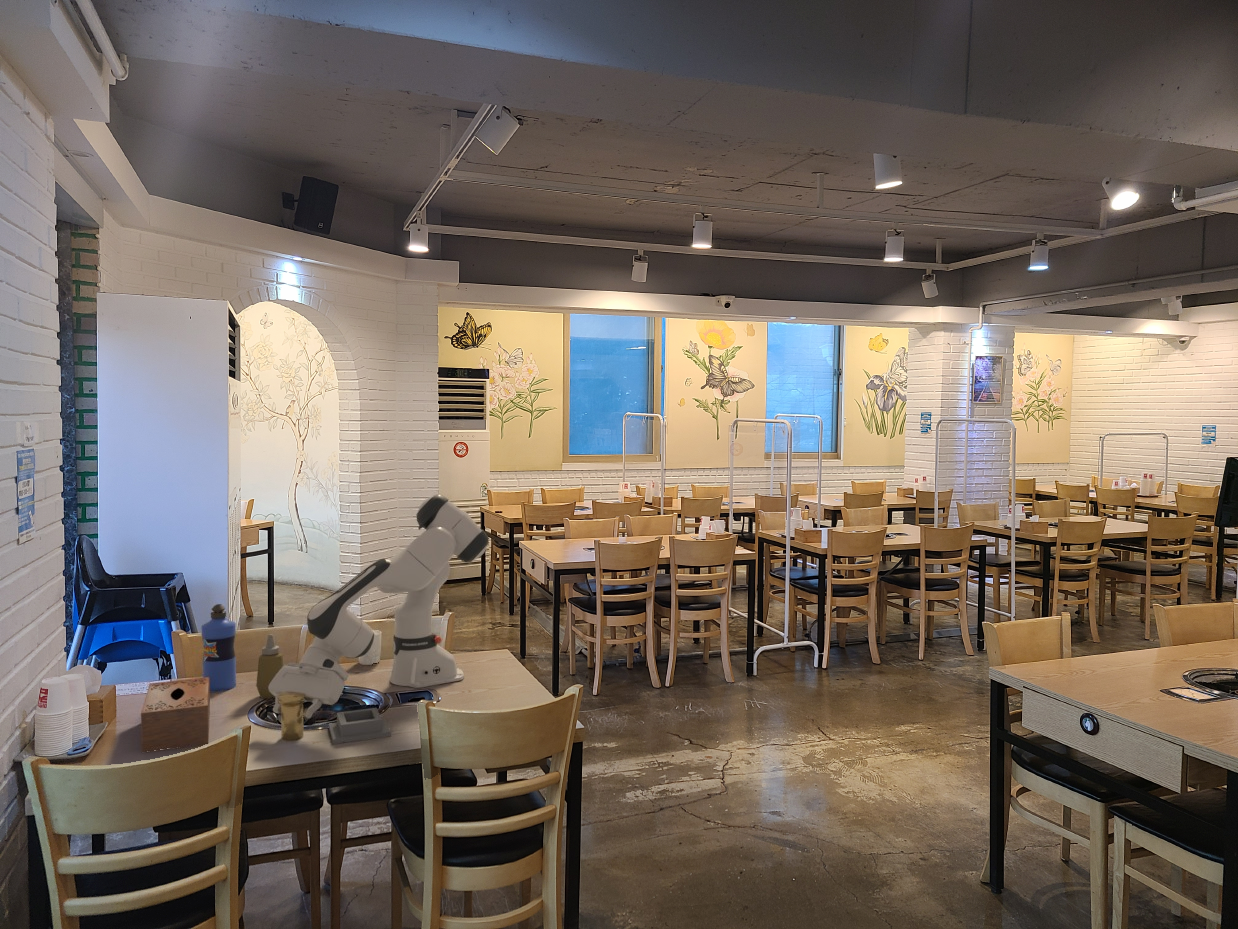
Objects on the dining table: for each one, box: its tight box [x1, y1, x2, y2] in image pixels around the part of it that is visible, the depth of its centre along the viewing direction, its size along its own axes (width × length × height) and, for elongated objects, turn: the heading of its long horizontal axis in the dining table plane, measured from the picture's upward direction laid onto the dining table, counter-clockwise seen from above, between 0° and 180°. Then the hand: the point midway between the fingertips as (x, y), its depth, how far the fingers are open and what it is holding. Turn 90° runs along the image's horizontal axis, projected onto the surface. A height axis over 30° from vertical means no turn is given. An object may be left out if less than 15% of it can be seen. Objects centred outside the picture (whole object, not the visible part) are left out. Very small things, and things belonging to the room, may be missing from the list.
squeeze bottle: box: [255, 634, 285, 699], centre depth 247 cm, size 8×8×18 cm
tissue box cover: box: [140, 677, 211, 753], centre depth 219 cm, size 26×14×10 cm, turn 25°
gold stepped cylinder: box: [278, 691, 305, 742], centre depth 215 cm, size 6×6×11 cm
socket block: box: [328, 707, 392, 745], centre depth 219 cm, size 14×12×4 cm
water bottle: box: [200, 603, 237, 693], centre depth 255 cm, size 9×9×25 cm
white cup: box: [358, 629, 382, 666], centre depth 283 cm, size 8×8×10 cm
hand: (290, 714), depth 214 cm, fingers open, 8 cm apart
